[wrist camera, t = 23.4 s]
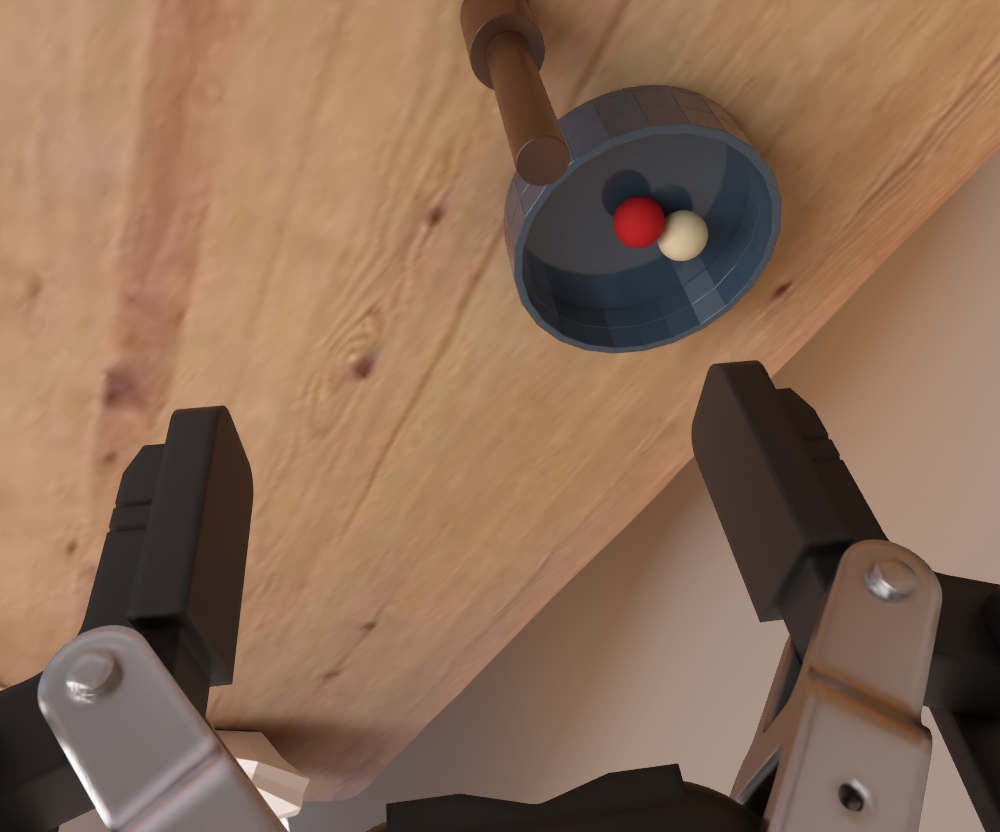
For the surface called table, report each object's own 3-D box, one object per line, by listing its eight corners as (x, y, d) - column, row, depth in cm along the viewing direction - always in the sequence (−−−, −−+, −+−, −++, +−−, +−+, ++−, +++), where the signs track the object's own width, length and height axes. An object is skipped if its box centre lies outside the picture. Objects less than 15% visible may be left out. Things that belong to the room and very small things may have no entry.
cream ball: (678, 231, 47) (679, 193, 45) (716, 251, 46) (720, 212, 43) (646, 257, 46) (646, 219, 44) (684, 278, 45) (686, 240, 42)
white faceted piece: (87, 729, 91) (60, 843, 82) (280, 691, 90) (272, 802, 81) (185, 784, 109) (171, 882, 101) (345, 753, 108) (345, 849, 100)
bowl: (657, 21, 37) (682, 58, 34) (797, 199, 46) (827, 240, 44) (451, 222, 45) (457, 267, 42) (607, 342, 54) (622, 386, 51)
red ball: (601, 235, 43) (603, 219, 45) (642, 265, 44) (642, 248, 46) (634, 193, 41) (634, 179, 44) (676, 225, 42) (674, 209, 44)
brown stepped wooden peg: (495, -39, 34) (546, 96, 25) (543, 14, 36) (607, 158, 27) (445, 18, 36) (477, 165, 27) (494, 66, 38) (539, 219, 29)
